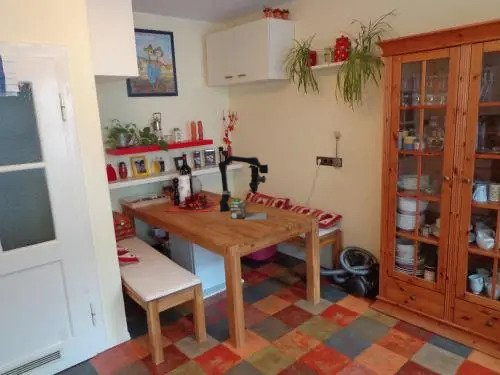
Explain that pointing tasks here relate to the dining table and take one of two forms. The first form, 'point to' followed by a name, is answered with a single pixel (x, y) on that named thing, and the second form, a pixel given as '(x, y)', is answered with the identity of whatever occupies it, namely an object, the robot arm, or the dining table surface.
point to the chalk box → (237, 209)
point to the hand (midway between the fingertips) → (255, 192)
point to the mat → (256, 216)
